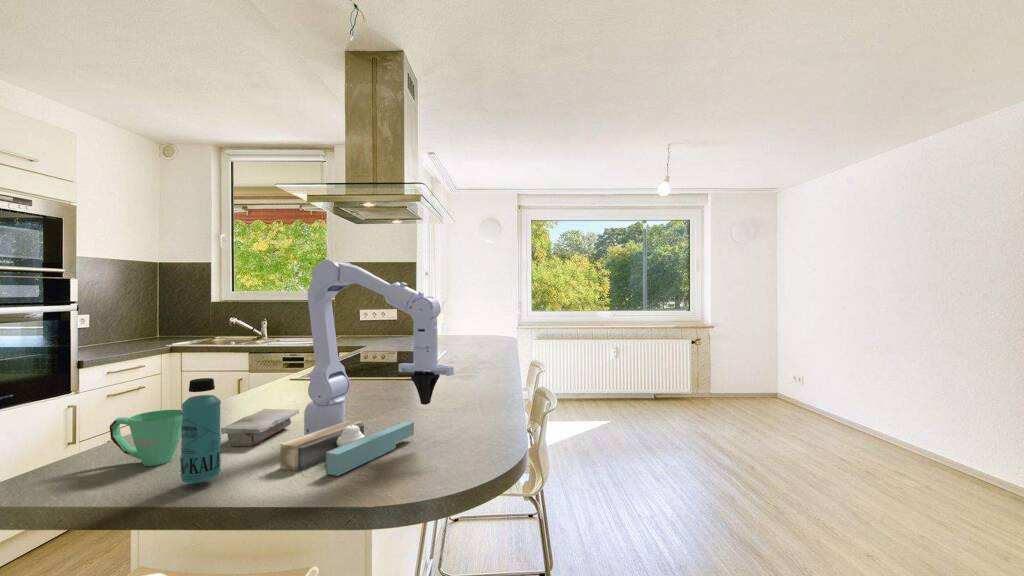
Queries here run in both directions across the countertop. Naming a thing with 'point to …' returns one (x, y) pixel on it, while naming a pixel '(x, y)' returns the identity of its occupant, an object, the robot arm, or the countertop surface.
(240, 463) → the countertop surface
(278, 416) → the grey box
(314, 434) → the wooden block
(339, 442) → the white ribbed dome
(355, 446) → the movable jaw
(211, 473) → the beverage bottle
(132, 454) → the mug
